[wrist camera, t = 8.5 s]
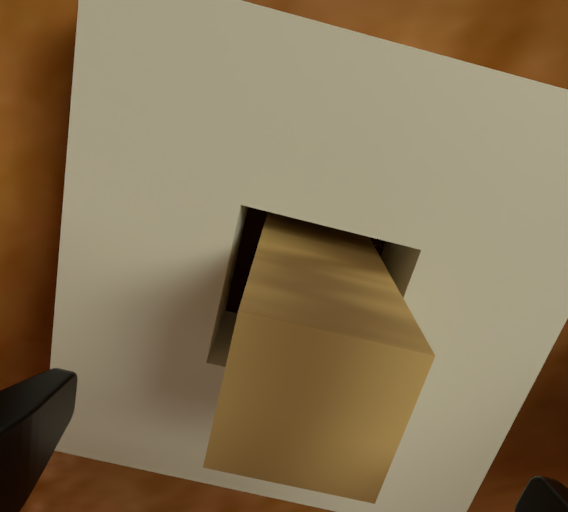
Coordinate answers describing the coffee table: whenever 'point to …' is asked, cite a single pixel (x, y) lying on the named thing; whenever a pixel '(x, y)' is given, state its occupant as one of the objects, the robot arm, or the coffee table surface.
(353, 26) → the coffee table surface
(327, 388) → the peg
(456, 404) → the socket block
